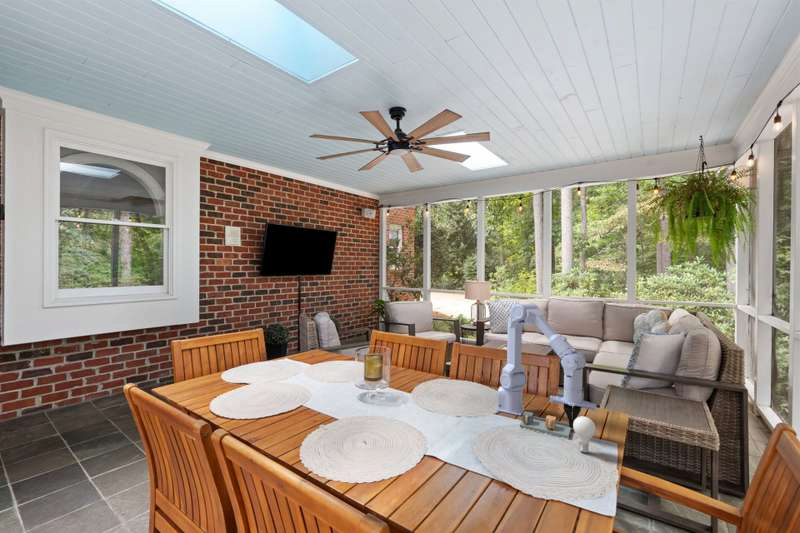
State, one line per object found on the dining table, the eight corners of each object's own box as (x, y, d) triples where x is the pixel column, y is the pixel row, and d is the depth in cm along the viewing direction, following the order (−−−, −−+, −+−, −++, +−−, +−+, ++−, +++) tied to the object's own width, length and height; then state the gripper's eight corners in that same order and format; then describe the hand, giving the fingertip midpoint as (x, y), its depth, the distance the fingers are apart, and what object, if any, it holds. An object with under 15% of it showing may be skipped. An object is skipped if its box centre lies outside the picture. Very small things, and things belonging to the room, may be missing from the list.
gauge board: (519, 427, 131) (520, 416, 131) (525, 418, 139) (525, 407, 139) (568, 439, 123) (568, 426, 123) (571, 428, 131) (571, 416, 131)
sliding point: (544, 428, 127) (545, 419, 127) (547, 423, 131) (547, 415, 131) (554, 430, 126) (554, 421, 126) (555, 425, 130) (556, 417, 130)
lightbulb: (593, 449, 116) (593, 414, 116) (596, 458, 110) (597, 422, 110) (571, 445, 118) (572, 411, 118) (573, 454, 112) (574, 419, 112)
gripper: (548, 386, 126) (547, 425, 126) (596, 395, 119) (595, 436, 119) (551, 381, 132) (550, 419, 132) (596, 389, 125) (595, 428, 125)
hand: (571, 426), depth 126 cm, fingers closed
